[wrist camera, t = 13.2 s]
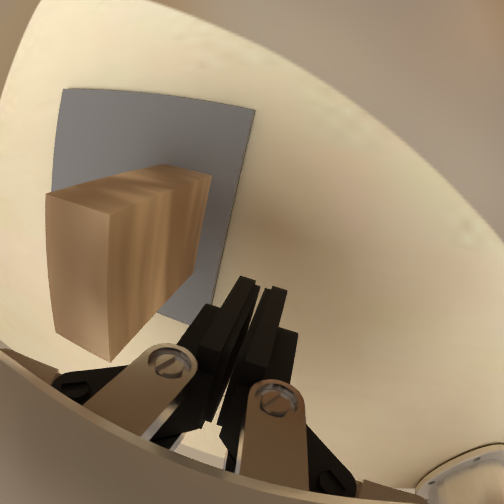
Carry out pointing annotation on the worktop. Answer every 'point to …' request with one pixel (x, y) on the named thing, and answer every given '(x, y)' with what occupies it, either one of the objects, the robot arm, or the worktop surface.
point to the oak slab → (121, 251)
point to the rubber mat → (158, 161)
